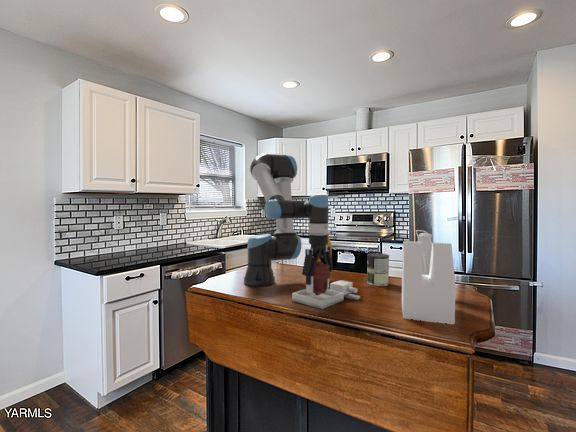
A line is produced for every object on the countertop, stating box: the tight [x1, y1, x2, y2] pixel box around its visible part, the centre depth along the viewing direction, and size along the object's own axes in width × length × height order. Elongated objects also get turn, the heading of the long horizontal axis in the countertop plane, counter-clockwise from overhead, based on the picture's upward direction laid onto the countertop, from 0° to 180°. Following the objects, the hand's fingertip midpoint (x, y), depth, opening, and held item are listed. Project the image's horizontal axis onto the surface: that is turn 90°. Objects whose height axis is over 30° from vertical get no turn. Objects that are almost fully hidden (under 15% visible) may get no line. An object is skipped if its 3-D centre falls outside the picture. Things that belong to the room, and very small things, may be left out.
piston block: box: [329, 279, 358, 295], centre depth 127 cm, size 10×8×4 cm
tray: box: [291, 288, 345, 310], centre depth 121 cm, size 15×15×3 cm
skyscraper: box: [415, 229, 433, 275], centre depth 132 cm, size 8×8×28 cm
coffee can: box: [366, 252, 390, 287], centre depth 149 cm, size 10×10×14 cm
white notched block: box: [401, 240, 456, 325], centre depth 108 cm, size 19×15×25 cm
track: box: [344, 293, 361, 301], centre depth 127 cm, size 11×3×1 cm, turn 48°
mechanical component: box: [309, 262, 332, 295], centre depth 121 cm, size 12×10×10 cm
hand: (317, 290), depth 121 cm, fingers closed on mechanical component, 10 cm apart
